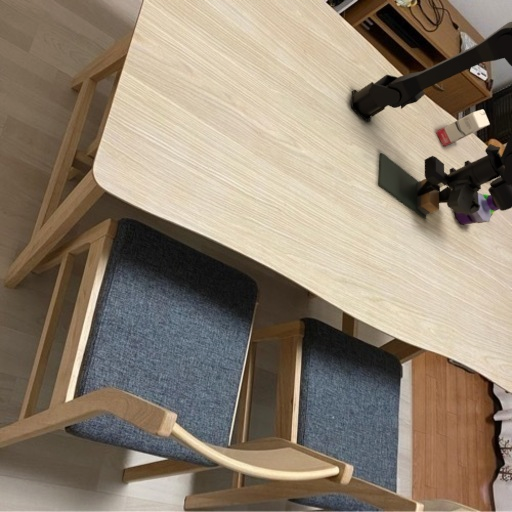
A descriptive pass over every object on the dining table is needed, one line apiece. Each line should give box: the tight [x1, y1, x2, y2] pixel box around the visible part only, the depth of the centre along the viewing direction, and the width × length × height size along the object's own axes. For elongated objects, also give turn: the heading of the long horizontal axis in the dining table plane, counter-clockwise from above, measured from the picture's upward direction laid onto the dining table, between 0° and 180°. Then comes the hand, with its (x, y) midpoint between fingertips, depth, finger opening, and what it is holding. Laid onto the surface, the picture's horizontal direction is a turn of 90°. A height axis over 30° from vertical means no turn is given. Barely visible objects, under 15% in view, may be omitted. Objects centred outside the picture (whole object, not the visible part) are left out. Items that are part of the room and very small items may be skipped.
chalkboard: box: [377, 152, 427, 220], centre depth 143 cm, size 18×10×1 cm, turn 79°
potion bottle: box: [453, 192, 500, 226], centre depth 154 cm, size 9×9×12 cm
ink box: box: [436, 109, 491, 147], centre depth 164 cm, size 8×5×12 cm, turn 123°
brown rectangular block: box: [416, 178, 440, 216], centre depth 145 cm, size 4×8×4 cm, turn 169°
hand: (422, 198), depth 146 cm, fingers closed on brown rectangular block, 4 cm apart
